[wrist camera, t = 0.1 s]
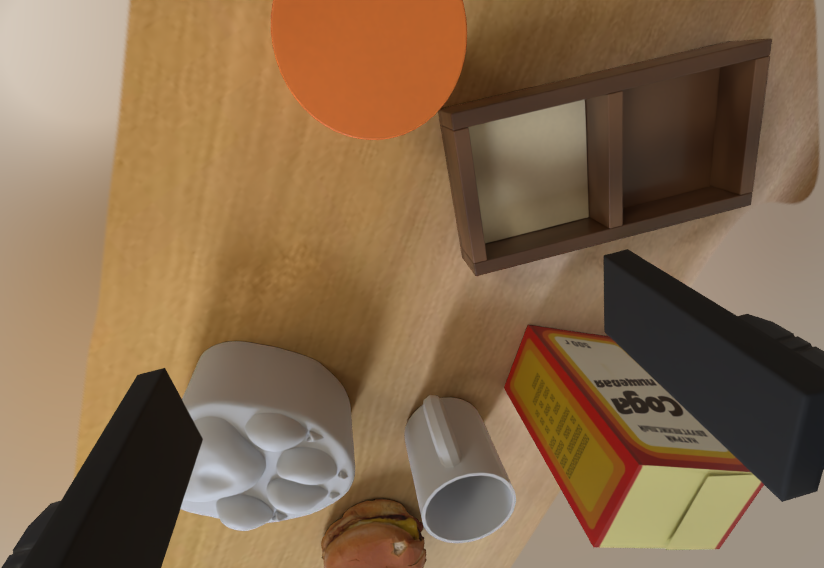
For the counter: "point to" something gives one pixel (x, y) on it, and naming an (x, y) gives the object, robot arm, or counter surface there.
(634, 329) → the robot arm
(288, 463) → the lumpy-topped squat cylinder
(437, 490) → the cup
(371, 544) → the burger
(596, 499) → the baking soda box
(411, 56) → the spool
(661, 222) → the divided tray
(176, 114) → the counter surface
